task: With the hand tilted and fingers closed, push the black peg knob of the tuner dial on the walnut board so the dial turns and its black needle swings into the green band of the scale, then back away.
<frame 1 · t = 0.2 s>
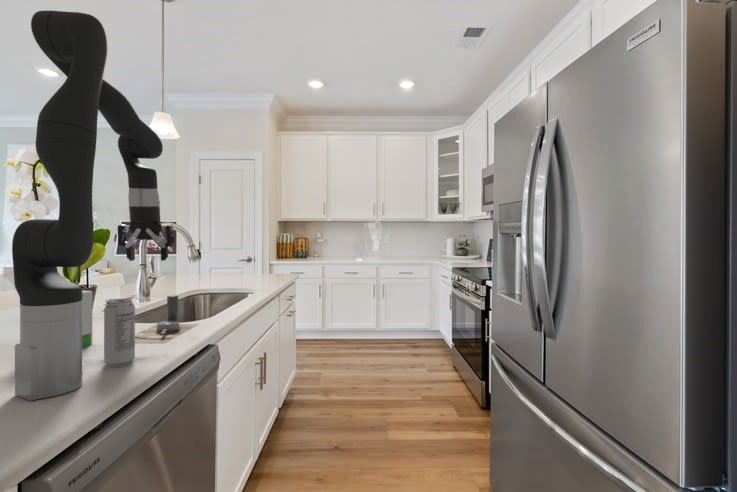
hand: (148, 260, 108), 23 cm above the worktop, tool pointing down, fingers open, 8 cm apart
energy drink can: (119, 364, 87), on the worktop
tuner board: (169, 336, 111), on the worktop
tuning peg: (168, 314, 113), point 6 cm above the worktop, hinge at 0.0°
skincare box: (68, 352, 95), on the worktop
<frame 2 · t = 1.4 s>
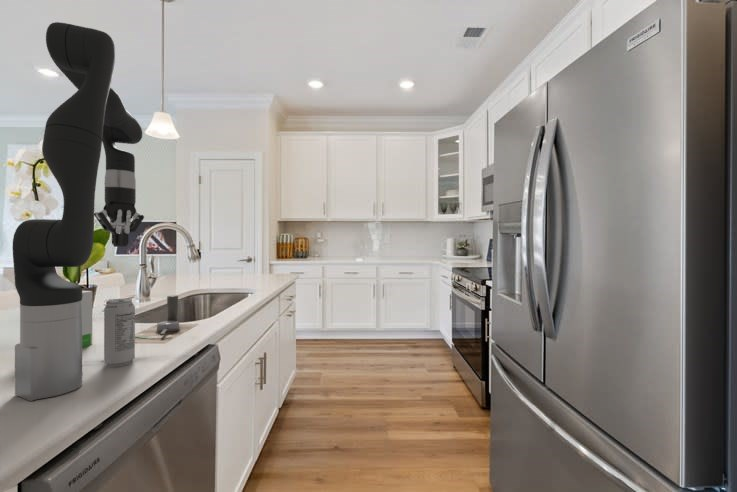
hand: (120, 246, 108), 27 cm above the worktop, tool pointing down, fingers closed
nothing on the worktop moved.
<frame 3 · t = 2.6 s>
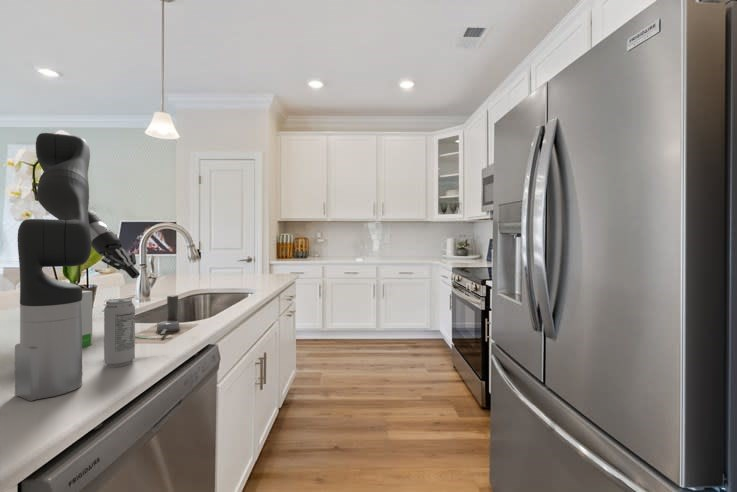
hand: (136, 276, 122), 17 cm above the worktop, tool tilted 45°, fingers closed
nothing on the worktop moved.
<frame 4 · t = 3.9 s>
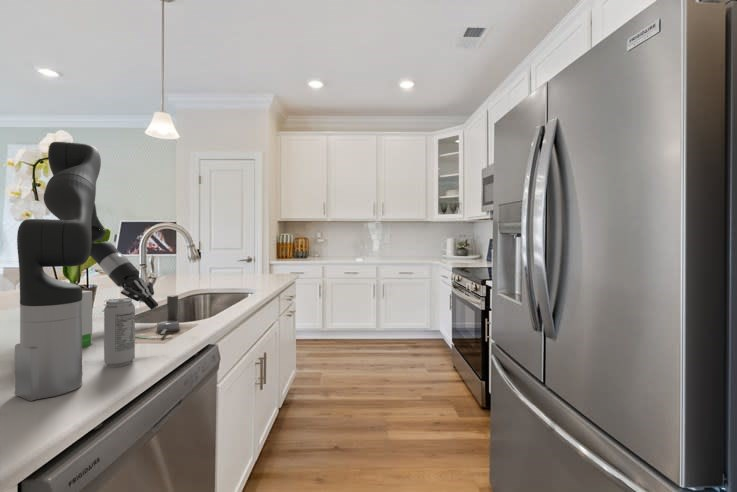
hand: (155, 307, 121), 7 cm above the worktop, tool tilted 45°, fingers closed
nothing on the worktop moved.
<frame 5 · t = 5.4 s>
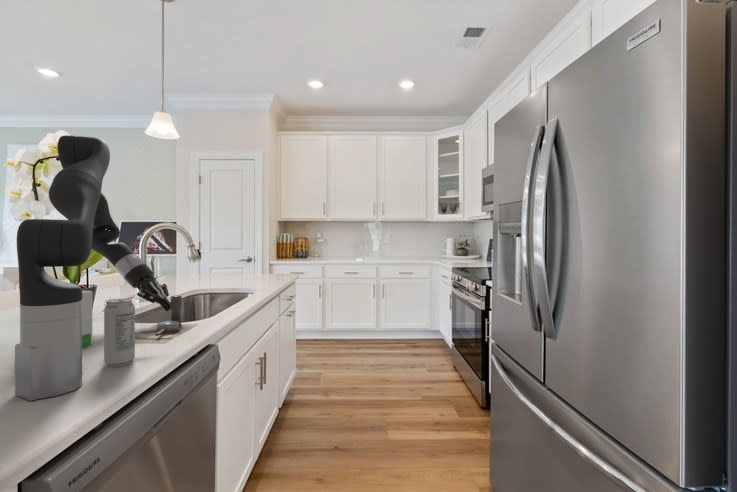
hand: (170, 309, 121), 6 cm above the worktop, tool tilted 45°, fingers closed
tuning peg: (168, 314, 113), point 6 cm above the worktop, hinge at -7.4°, touching gripper
everything else where it was.
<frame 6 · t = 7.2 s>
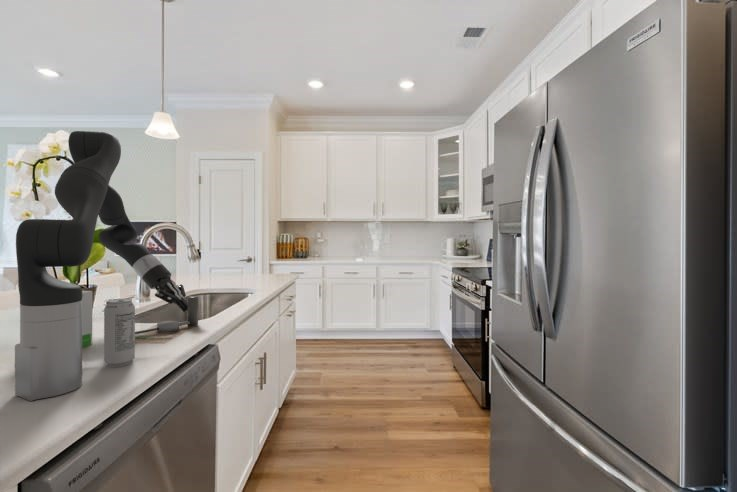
hand: (187, 309, 121), 6 cm above the worktop, tool tilted 45°, fingers closed
tuning peg: (168, 314, 113), point 6 cm above the worktop, hinge at -51.9°, touching gripper
everything else where it was.
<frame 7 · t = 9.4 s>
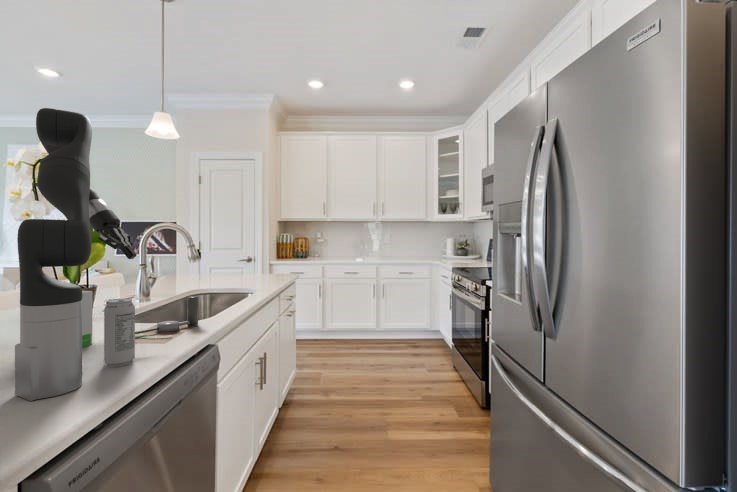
hand: (133, 257, 118), 23 cm above the worktop, tool tilted 40°, fingers closed
tuning peg: (168, 314, 113), point 6 cm above the worktop, hinge at -51.9°
everything else where it was.
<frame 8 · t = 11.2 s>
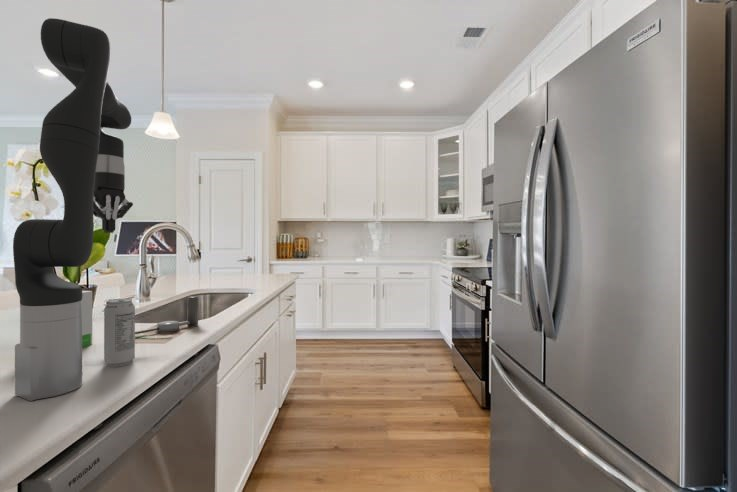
hand: (108, 232, 107), 31 cm above the worktop, tool pointing down, fingers closed
nothing on the worktop moved.
at the end: tuning peg at -52° (first picture: +0°); the gripper is holding nothing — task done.
